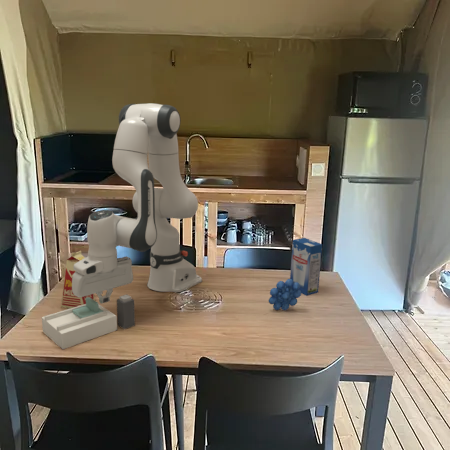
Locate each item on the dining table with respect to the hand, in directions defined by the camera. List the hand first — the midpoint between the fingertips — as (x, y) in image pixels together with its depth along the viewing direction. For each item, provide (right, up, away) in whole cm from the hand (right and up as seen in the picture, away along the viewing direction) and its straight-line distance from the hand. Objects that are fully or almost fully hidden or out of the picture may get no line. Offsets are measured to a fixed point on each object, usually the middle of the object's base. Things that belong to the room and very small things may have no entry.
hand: (104, 302), depth 148 cm
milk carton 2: (+70, -1, +33) cm, 78 cm away
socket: (-7, -8, -4) cm, 11 cm away
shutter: (-4, -3, -3) cm, 6 cm away
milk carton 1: (-13, -3, +15) cm, 21 cm away
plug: (+7, -8, +1) cm, 10 cm away
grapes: (+60, -5, +16) cm, 62 cm away
